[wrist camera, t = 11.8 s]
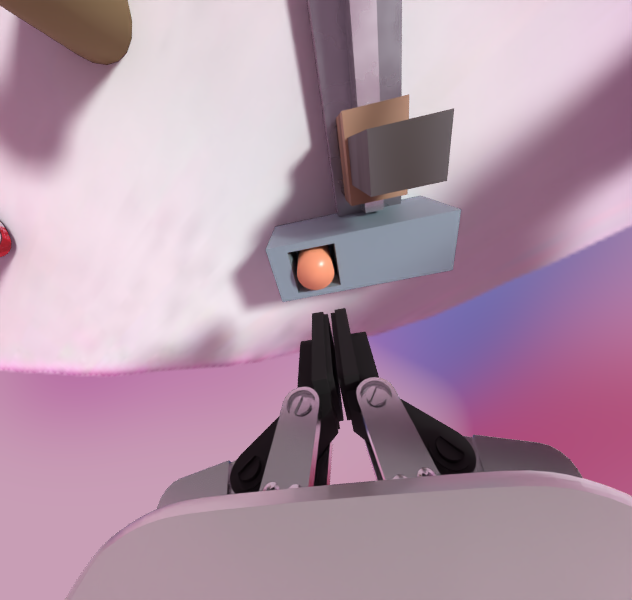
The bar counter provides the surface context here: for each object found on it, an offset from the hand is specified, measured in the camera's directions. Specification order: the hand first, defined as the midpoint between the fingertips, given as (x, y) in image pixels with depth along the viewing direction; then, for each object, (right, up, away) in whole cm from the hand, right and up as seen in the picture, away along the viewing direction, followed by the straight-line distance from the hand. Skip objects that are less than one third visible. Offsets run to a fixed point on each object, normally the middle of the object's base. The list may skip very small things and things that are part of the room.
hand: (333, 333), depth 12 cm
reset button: (-1, +7, +12) cm, 14 cm away
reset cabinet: (+3, +9, +13) cm, 16 cm away
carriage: (+3, +14, +8) cm, 16 cm away
